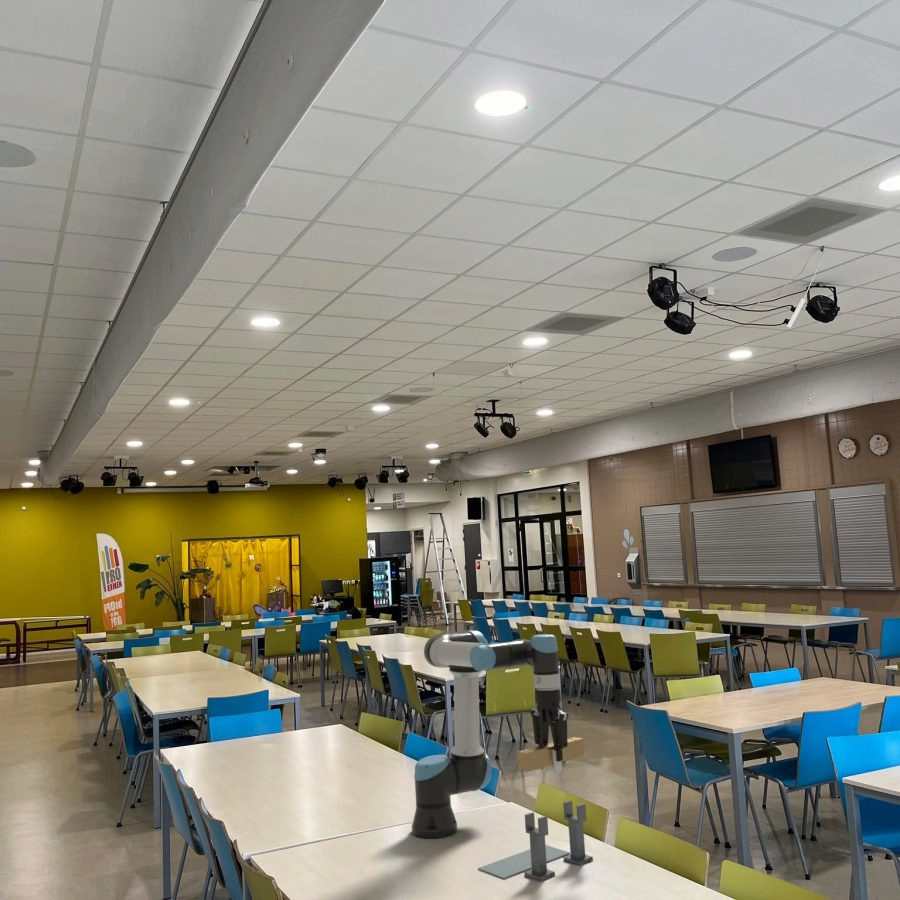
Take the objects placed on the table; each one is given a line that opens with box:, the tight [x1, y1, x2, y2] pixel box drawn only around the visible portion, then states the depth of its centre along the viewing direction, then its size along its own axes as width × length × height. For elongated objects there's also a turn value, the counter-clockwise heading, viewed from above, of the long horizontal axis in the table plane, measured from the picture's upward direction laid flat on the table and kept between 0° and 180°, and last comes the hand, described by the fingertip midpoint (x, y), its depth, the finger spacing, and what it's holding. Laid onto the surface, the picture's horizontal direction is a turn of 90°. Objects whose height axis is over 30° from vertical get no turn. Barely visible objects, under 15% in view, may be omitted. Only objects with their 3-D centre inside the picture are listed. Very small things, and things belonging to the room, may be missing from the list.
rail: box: [516, 736, 585, 773], centre depth 238 cm, size 4×24×5 cm, turn 129°
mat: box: [477, 844, 571, 880], centre depth 240 cm, size 11×27×1 cm, turn 129°
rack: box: [523, 799, 594, 883], centre depth 234 cm, size 6×22×16 cm, turn 129°
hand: (552, 771), depth 237 cm, fingers closed on rail, 3 cm apart
